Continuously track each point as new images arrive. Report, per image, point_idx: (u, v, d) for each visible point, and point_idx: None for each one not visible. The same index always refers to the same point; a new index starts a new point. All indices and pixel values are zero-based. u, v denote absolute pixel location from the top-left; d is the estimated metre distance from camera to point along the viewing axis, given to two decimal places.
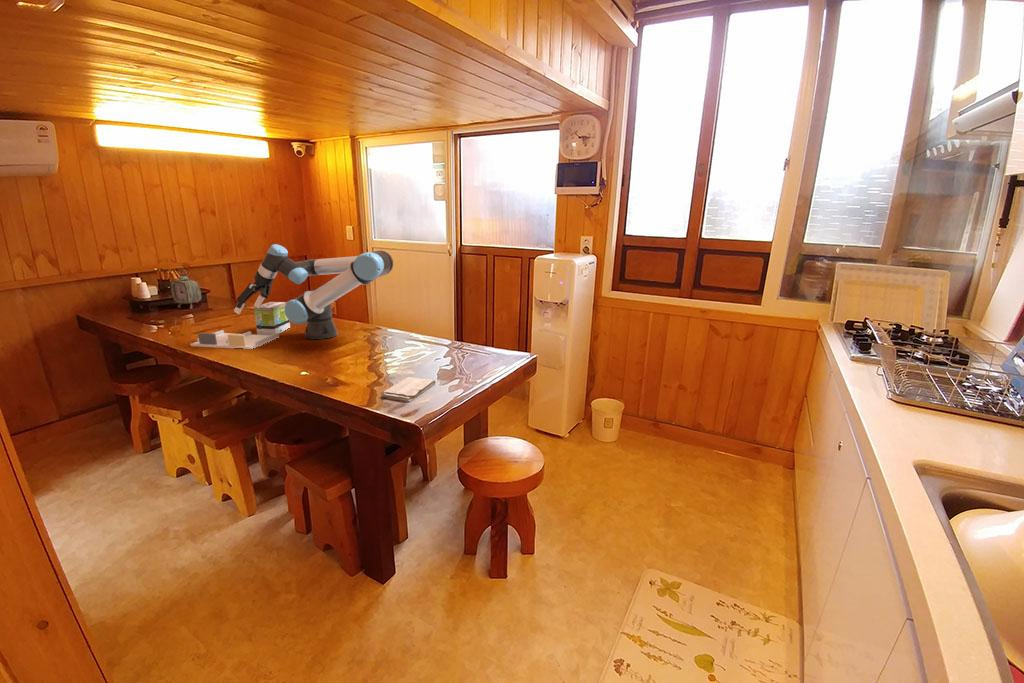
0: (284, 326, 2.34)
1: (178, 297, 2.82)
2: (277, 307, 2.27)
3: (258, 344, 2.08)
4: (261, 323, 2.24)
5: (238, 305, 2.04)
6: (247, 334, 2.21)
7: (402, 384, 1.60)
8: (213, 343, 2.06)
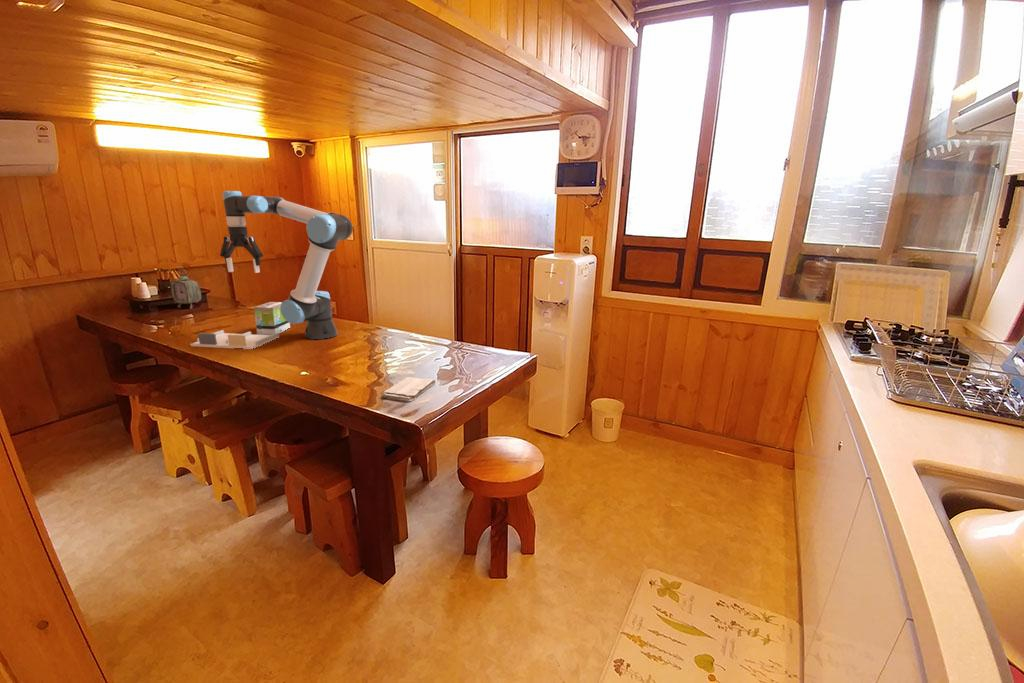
0: (284, 326, 2.34)
1: (178, 297, 2.82)
2: (277, 307, 2.27)
3: (258, 344, 2.08)
4: (261, 323, 2.24)
5: None
6: (247, 334, 2.21)
7: (402, 384, 1.60)
8: (213, 343, 2.06)
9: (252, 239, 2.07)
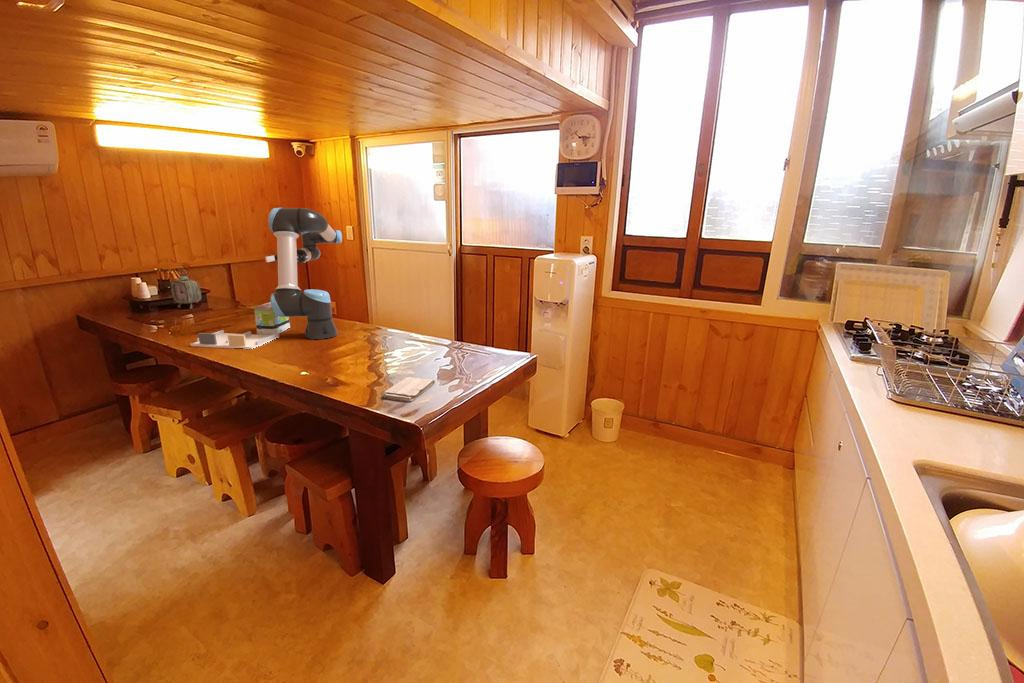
0: (284, 326, 2.34)
1: (178, 297, 2.82)
2: None
3: (258, 344, 2.08)
4: (261, 323, 2.24)
5: None
6: (247, 334, 2.21)
7: (402, 384, 1.60)
8: (213, 343, 2.06)
9: (306, 256, 2.47)
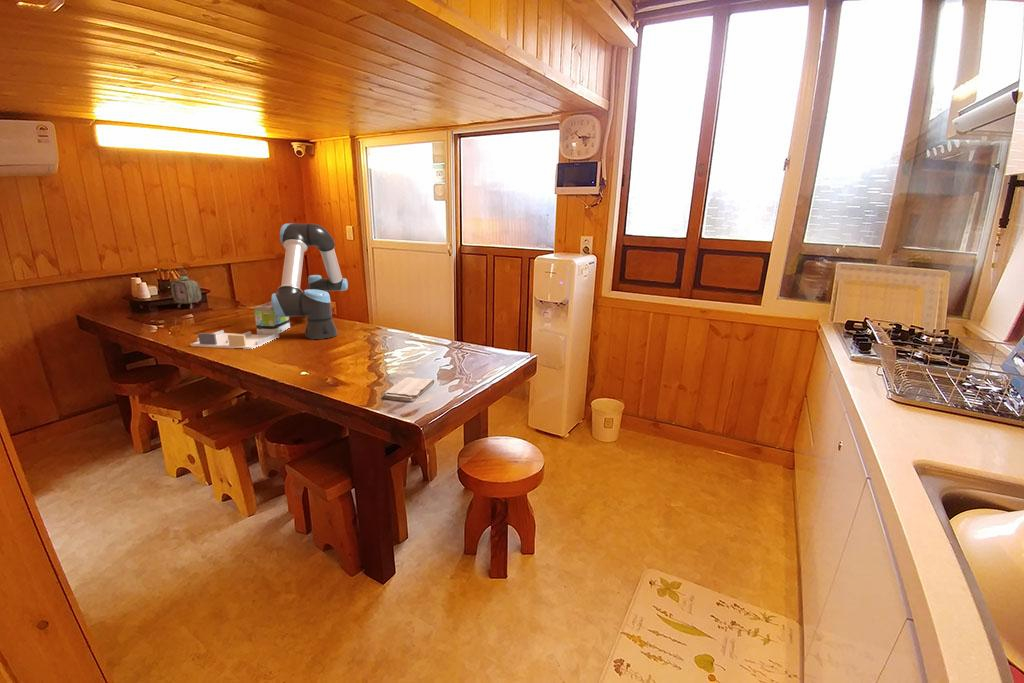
0: (284, 326, 2.34)
1: (178, 297, 2.82)
2: None
3: (258, 344, 2.08)
4: (261, 323, 2.24)
5: None
6: (247, 334, 2.21)
7: (402, 384, 1.59)
8: (213, 343, 2.06)
9: None
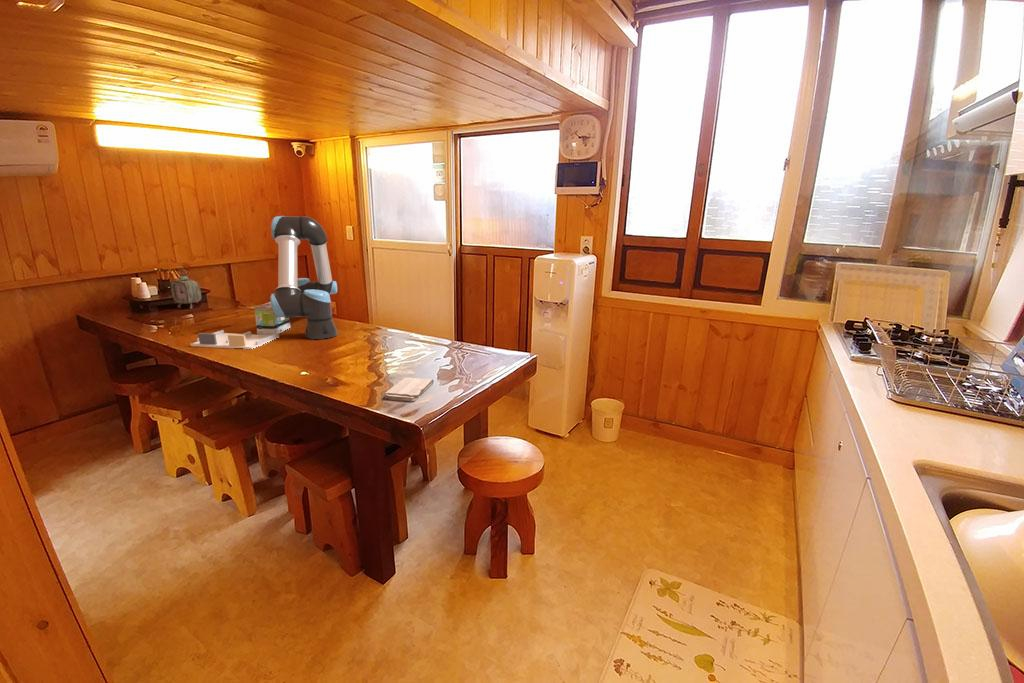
0: (284, 326, 2.33)
1: (178, 297, 2.82)
2: None
3: (258, 344, 2.08)
4: (261, 323, 2.24)
5: None
6: (247, 334, 2.21)
7: (402, 384, 1.59)
8: (213, 343, 2.06)
9: None
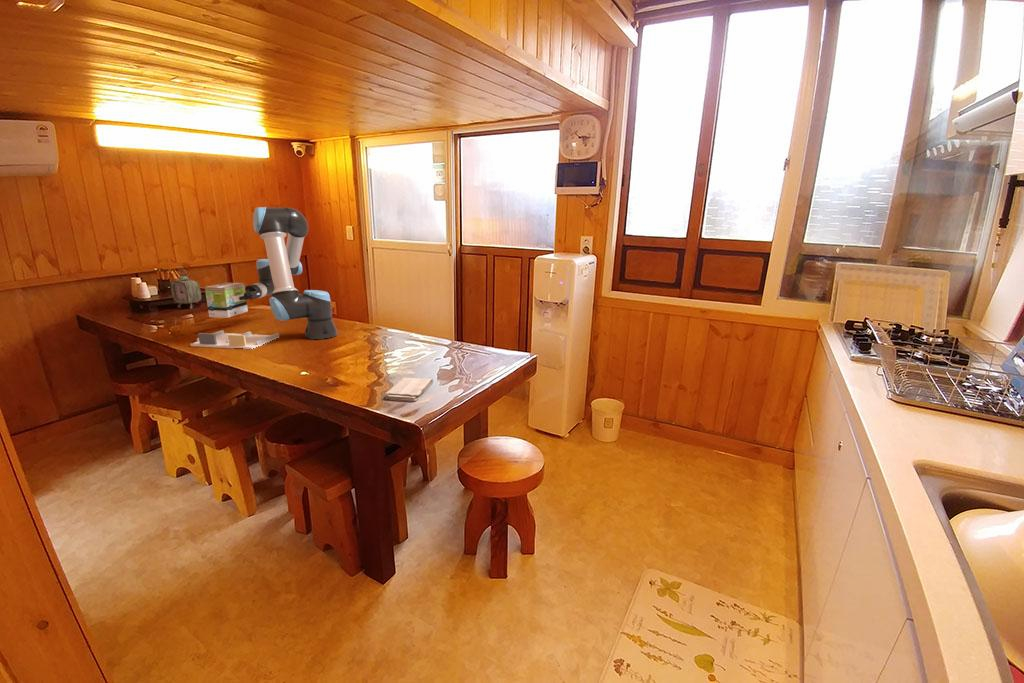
0: (239, 309, 2.18)
1: (178, 297, 2.82)
2: (230, 287, 2.11)
3: (258, 344, 2.08)
4: (212, 304, 2.09)
5: None
6: (247, 334, 2.21)
7: (402, 385, 1.59)
8: (213, 343, 2.06)
9: (258, 293, 2.27)
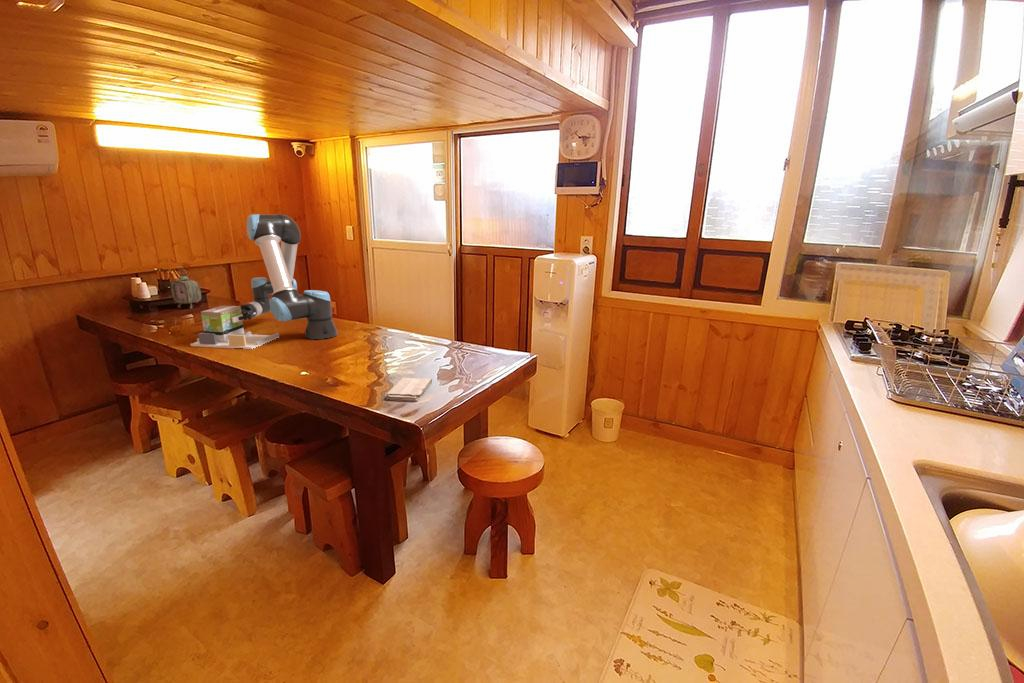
0: (236, 332, 2.18)
1: (178, 297, 2.82)
2: (227, 311, 2.11)
3: (258, 344, 2.08)
4: (208, 329, 2.09)
5: None
6: (247, 334, 2.21)
7: (402, 385, 1.59)
8: (213, 343, 2.06)
9: (254, 312, 2.27)
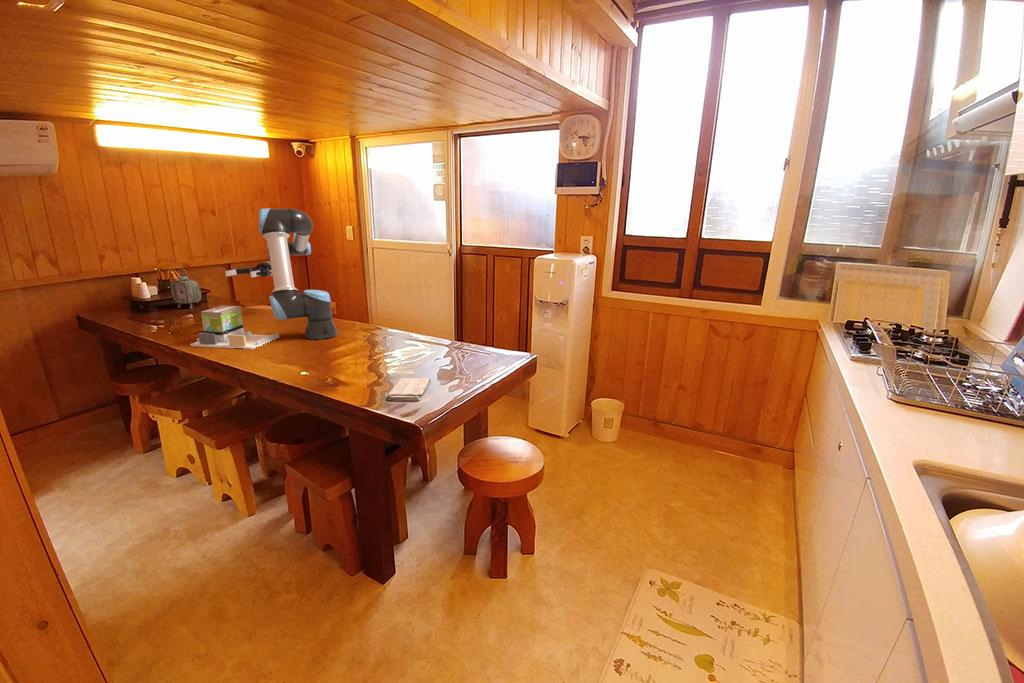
0: (236, 332, 2.18)
1: (178, 297, 2.82)
2: (227, 311, 2.11)
3: (258, 344, 2.08)
4: (208, 329, 2.09)
5: None
6: (247, 334, 2.21)
7: (402, 385, 1.59)
8: (213, 343, 2.06)
9: (270, 270, 2.38)
